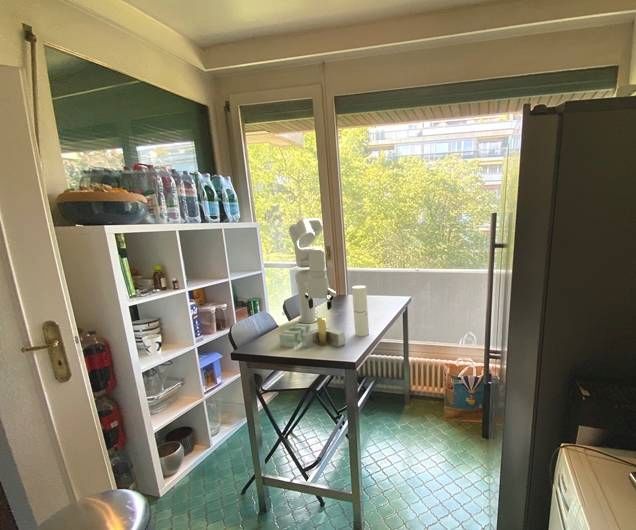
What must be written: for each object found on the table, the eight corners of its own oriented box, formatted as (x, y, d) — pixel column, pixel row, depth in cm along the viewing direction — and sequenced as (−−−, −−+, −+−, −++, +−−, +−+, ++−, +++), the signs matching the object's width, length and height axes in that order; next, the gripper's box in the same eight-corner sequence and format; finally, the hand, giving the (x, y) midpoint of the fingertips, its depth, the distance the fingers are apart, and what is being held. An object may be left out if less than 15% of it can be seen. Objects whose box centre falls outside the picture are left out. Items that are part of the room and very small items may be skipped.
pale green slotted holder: (298, 334, 181) (297, 323, 180) (311, 335, 178) (310, 324, 177) (280, 346, 165) (279, 334, 164) (294, 347, 162) (293, 335, 161)
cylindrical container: (353, 333, 175) (349, 286, 172) (364, 330, 178) (361, 284, 175) (359, 337, 169) (355, 289, 166) (371, 334, 171) (368, 286, 168)
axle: (321, 342, 165) (319, 317, 164) (328, 343, 164) (326, 317, 162) (318, 345, 162) (315, 319, 160) (325, 346, 160) (323, 320, 158)
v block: (304, 340, 171) (303, 328, 170) (345, 338, 169) (344, 326, 168) (301, 348, 160) (299, 336, 159) (345, 346, 158) (344, 334, 157)
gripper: (298, 275, 159) (301, 309, 162) (331, 275, 151) (333, 311, 154) (305, 272, 166) (308, 305, 168) (337, 272, 158) (339, 307, 161)
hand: (320, 308), depth 161 cm, fingers open, 9 cm apart
